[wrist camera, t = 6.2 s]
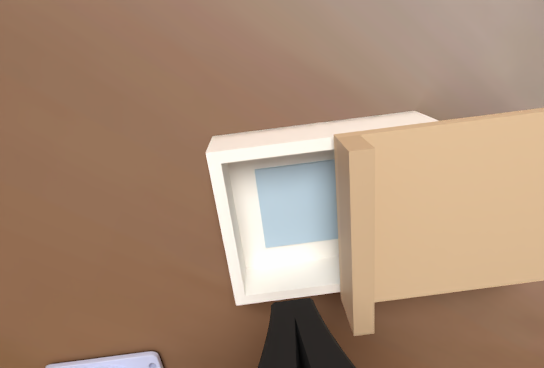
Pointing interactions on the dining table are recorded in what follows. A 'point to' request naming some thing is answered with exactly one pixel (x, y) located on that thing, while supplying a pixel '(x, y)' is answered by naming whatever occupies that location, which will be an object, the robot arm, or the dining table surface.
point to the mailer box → (283, 205)
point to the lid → (438, 209)
